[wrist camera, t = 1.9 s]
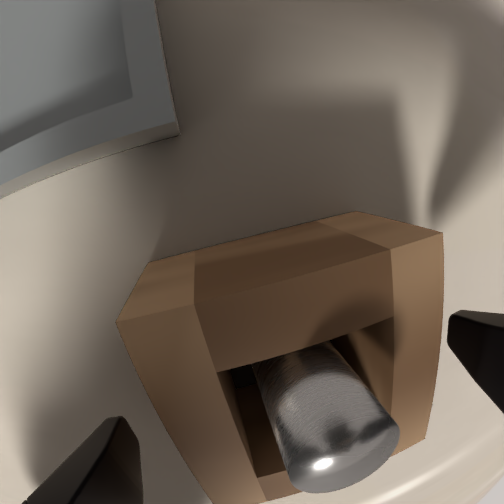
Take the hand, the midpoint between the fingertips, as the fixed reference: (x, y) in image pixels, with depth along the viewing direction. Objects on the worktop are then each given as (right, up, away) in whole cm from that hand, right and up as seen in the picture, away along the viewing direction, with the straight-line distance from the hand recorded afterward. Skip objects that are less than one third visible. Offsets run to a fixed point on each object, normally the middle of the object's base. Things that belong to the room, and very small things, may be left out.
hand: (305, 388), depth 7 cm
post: (0, +1, +3) cm, 3 cm away
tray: (-10, +10, -1) cm, 14 cm away
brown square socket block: (0, +1, +3) cm, 3 cm away
